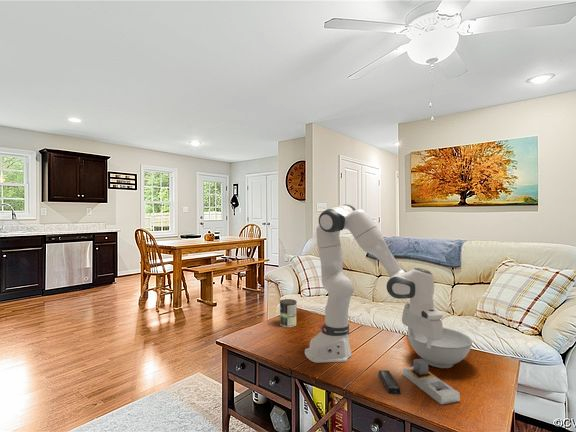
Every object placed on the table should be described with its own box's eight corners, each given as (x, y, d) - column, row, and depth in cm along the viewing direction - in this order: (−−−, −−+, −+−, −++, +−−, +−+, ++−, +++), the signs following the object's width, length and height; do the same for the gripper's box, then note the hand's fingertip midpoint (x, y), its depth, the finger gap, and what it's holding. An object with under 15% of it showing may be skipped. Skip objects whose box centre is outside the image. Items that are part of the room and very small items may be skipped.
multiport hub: (388, 375, 137) (388, 370, 137) (400, 394, 122) (400, 388, 122) (378, 375, 137) (378, 370, 137) (388, 394, 122) (388, 388, 122)
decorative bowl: (464, 354, 157) (465, 329, 157) (478, 381, 132) (479, 351, 132) (406, 346, 166) (406, 323, 166) (408, 371, 140) (408, 343, 140)
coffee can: (278, 326, 194) (278, 303, 194) (280, 321, 204) (280, 298, 204) (295, 327, 193) (296, 303, 193) (297, 321, 203) (297, 299, 203)
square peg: (419, 383, 130) (419, 363, 130) (413, 379, 133) (413, 359, 133) (428, 382, 131) (428, 362, 131) (421, 377, 135) (421, 358, 135)
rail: (441, 404, 116) (441, 395, 116) (403, 375, 137) (403, 367, 137) (459, 401, 118) (459, 392, 118) (419, 372, 139) (419, 365, 139)
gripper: (398, 302, 141) (397, 334, 141) (432, 317, 122) (430, 354, 122) (411, 301, 143) (409, 333, 143) (446, 316, 124) (444, 352, 124)
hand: (419, 342), depth 132 cm, fingers open, 8 cm apart
